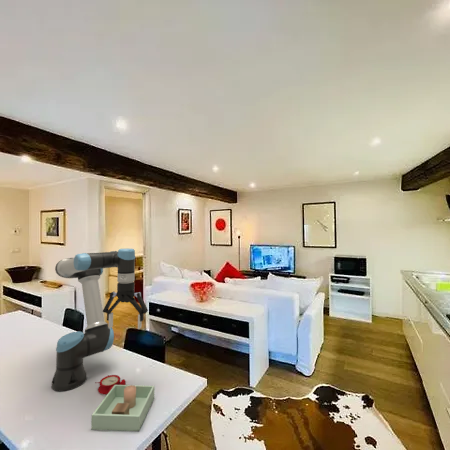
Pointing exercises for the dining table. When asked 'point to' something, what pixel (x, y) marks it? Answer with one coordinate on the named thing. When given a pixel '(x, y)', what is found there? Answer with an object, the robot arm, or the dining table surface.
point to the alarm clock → (109, 383)
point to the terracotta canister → (130, 396)
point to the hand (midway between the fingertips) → (125, 327)
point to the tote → (118, 422)
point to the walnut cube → (121, 409)
